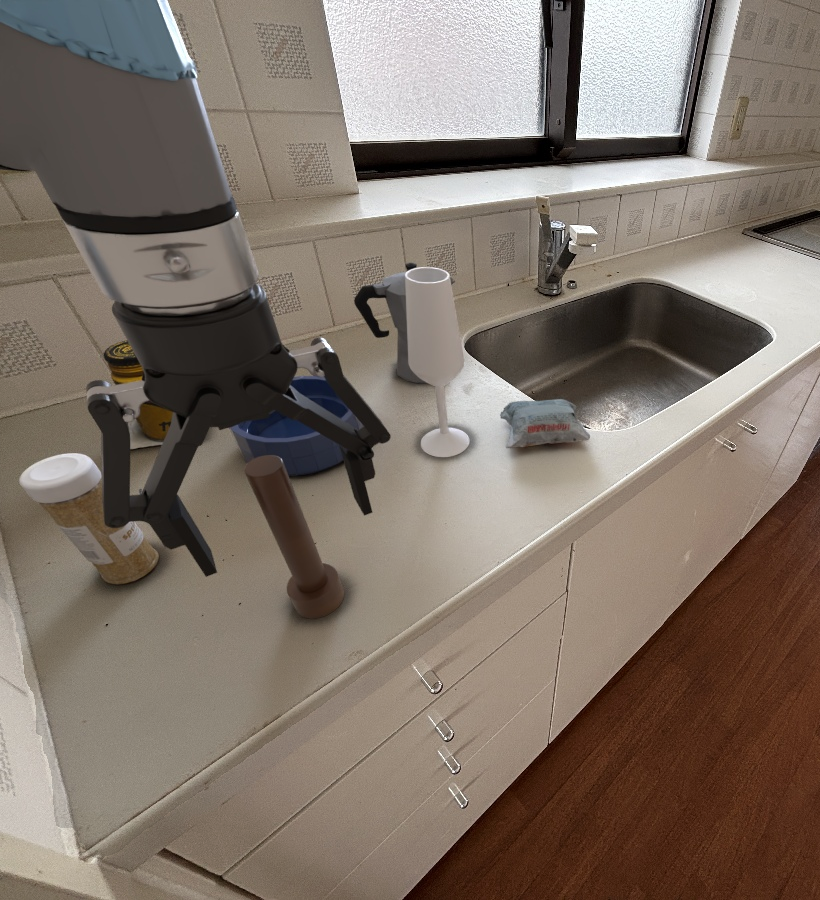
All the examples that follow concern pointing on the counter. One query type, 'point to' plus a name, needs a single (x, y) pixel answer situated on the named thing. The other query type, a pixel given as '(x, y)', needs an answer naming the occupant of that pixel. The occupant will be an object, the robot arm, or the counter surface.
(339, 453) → the bowl
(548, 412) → the packaged food
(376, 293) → the coffeepot
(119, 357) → the condiment
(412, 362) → the champagne flute
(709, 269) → the counter surface
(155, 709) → the counter surface
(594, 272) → the counter surface
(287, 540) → the muddler
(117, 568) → the sprinkles bottle
